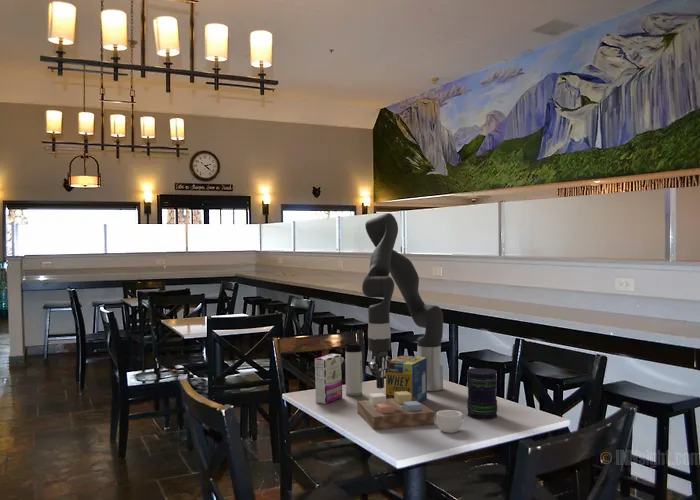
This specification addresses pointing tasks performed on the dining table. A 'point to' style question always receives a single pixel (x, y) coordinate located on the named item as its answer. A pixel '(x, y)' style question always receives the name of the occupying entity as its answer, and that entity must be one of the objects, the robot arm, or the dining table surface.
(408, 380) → the protein box
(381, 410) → the terracotta key
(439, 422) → the teacup
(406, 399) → the ochre key
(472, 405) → the storage jar
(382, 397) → the white block
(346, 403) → the dining table surface
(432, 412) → the brown flat wooden block
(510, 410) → the dining table surface
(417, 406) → the light blue block
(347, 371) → the travel mug
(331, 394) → the candy bar box
